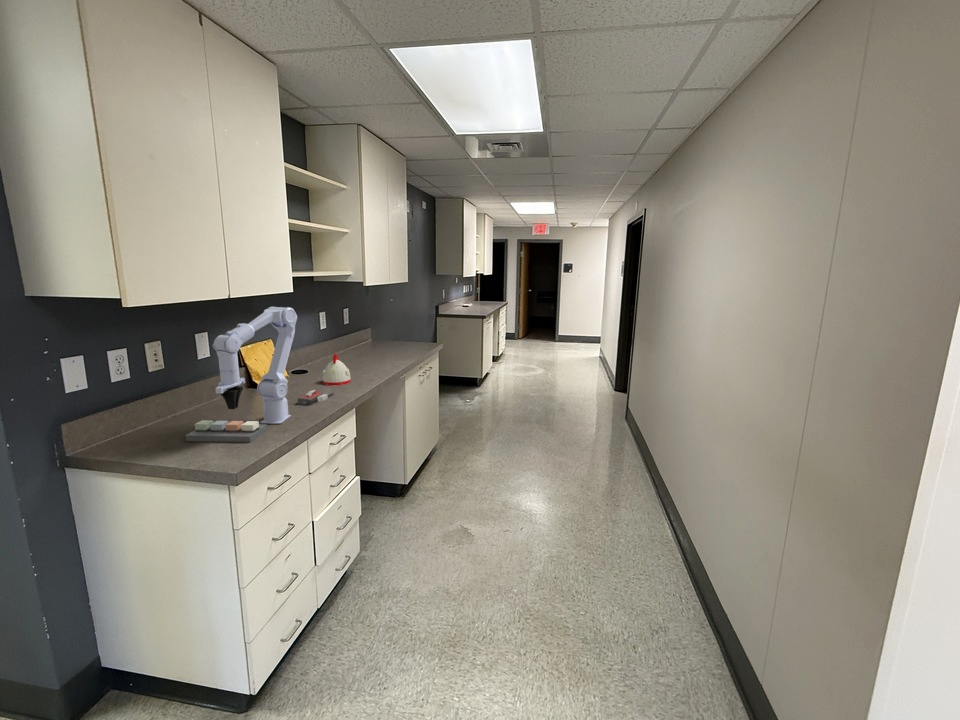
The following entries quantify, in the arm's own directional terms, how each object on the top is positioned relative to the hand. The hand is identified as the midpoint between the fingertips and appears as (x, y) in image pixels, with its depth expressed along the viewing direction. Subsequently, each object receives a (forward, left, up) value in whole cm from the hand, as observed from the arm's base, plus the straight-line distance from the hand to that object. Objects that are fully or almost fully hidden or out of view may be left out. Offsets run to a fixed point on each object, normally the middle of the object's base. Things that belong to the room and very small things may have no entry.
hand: (233, 408), depth 155 cm
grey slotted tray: (0, -3, -10) cm, 10 cm away
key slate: (0, -5, -8) cm, 10 cm away
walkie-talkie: (-46, +11, -11) cm, 48 cm away
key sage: (0, -11, -8) cm, 14 cm away
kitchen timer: (-77, +10, -10) cm, 78 cm away
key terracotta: (0, 0, -8) cm, 8 cm away
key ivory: (0, +5, -8) cm, 10 cm away
